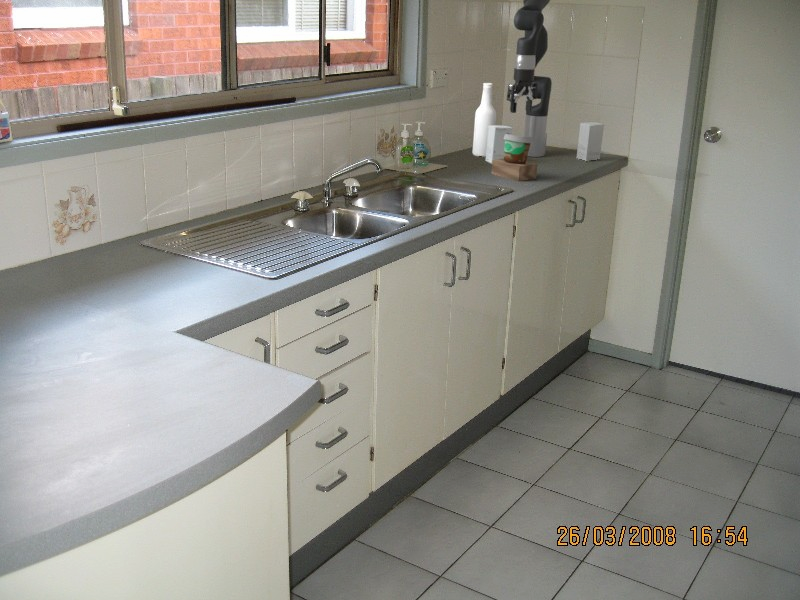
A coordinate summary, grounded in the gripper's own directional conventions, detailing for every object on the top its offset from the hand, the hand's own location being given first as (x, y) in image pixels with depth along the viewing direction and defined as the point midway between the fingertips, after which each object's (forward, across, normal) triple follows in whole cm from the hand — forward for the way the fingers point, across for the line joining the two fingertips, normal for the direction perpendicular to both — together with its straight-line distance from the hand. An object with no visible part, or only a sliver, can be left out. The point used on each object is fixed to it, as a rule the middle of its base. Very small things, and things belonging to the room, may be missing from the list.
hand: (520, 111), depth 328 cm
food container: (+19, +3, 0) cm, 19 cm away
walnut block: (+25, +1, 0) cm, 25 cm away
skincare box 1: (+25, -14, -22) cm, 36 cm away
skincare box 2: (+25, -54, -6) cm, 60 cm away
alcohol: (+25, -20, -36) cm, 48 cm away
